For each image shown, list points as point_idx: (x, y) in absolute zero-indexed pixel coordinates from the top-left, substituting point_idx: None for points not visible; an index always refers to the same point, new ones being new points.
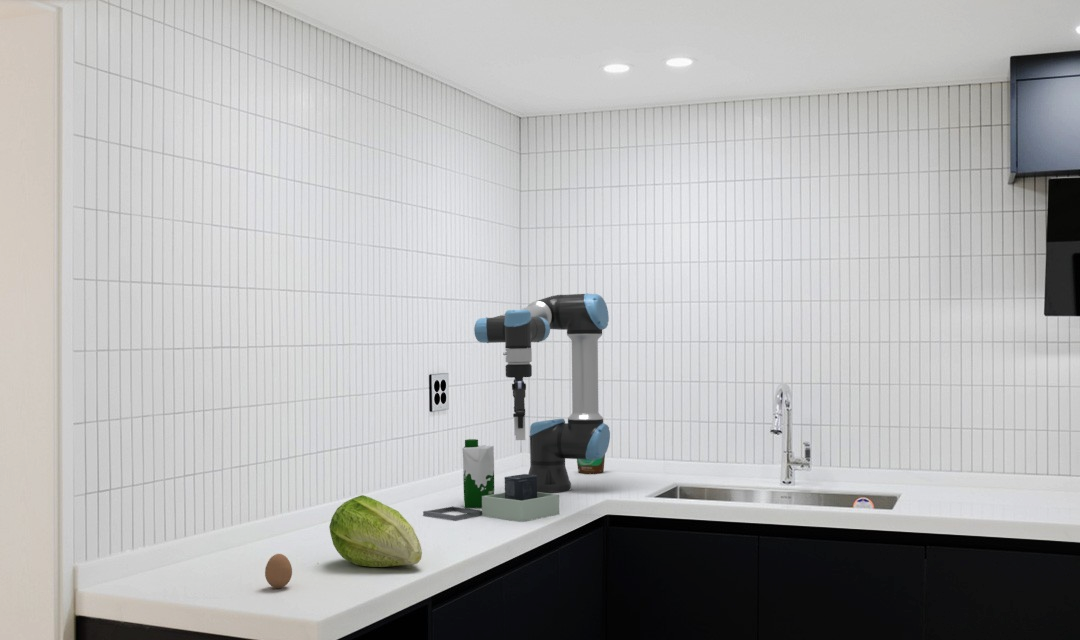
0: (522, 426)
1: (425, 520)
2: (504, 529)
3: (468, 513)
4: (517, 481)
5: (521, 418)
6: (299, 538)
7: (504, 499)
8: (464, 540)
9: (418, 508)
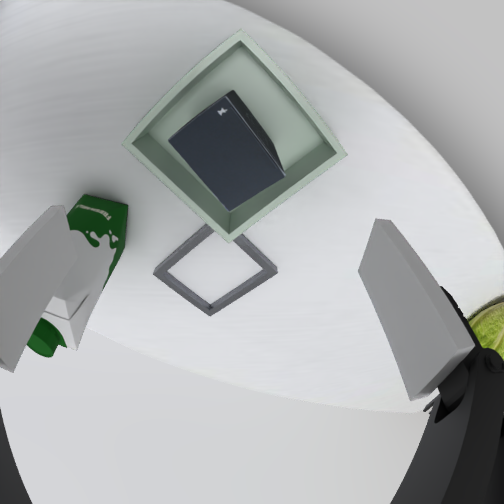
0: (449, 299)
1: (259, 308)
2: (399, 191)
3: (248, 250)
4: (283, 170)
5: (473, 352)
6: (335, 390)
7: (294, 192)
8: (443, 258)
9: (135, 313)
